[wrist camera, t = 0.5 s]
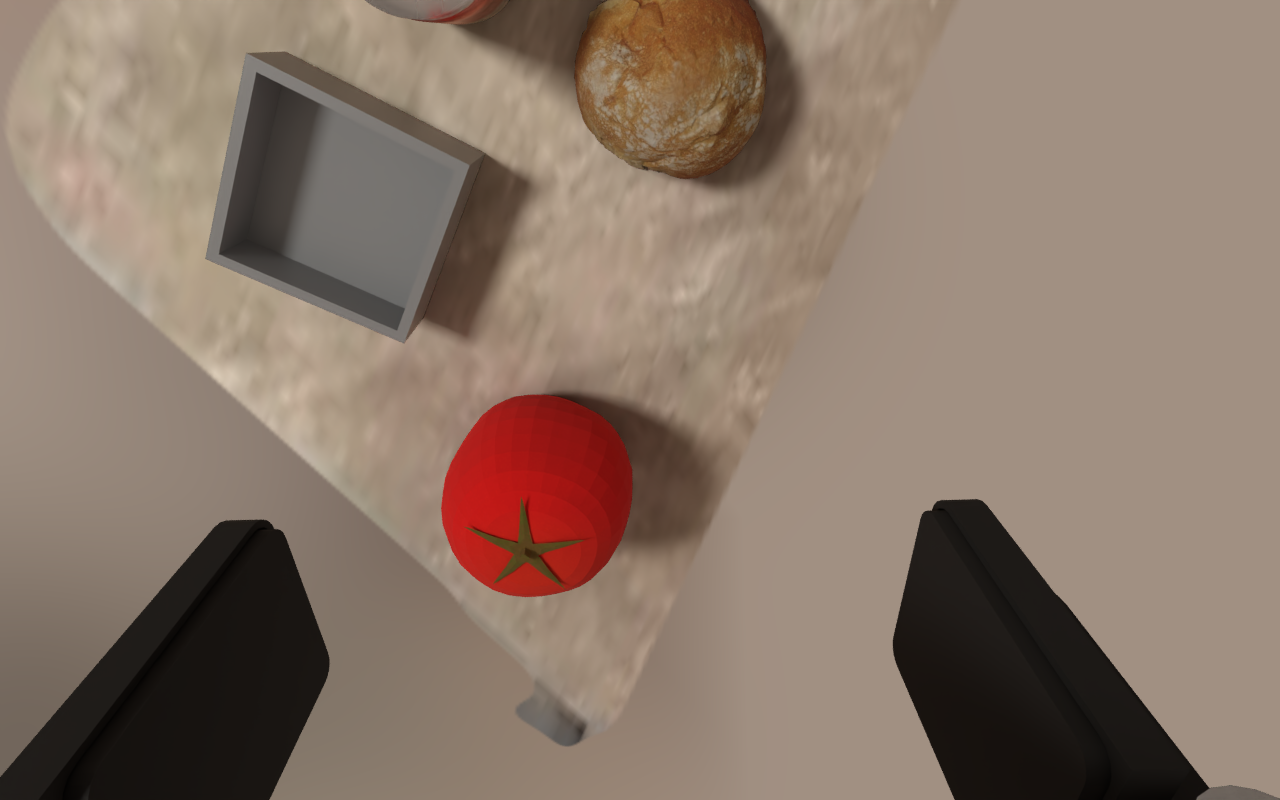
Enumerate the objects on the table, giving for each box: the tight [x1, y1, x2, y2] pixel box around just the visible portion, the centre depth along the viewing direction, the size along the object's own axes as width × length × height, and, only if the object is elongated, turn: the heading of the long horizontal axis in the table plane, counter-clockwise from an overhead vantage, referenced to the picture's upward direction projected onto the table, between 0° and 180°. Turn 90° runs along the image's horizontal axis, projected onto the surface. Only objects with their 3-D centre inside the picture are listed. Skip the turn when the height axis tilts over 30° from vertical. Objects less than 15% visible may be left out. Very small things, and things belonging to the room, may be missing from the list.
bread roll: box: [574, 0, 766, 179], centre depth 34 cm, size 10×10×8 cm
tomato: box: [441, 395, 632, 597], centre depth 41 cm, size 12×12×13 cm
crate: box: [205, 52, 485, 343], centre depth 36 cm, size 11×11×4 cm
